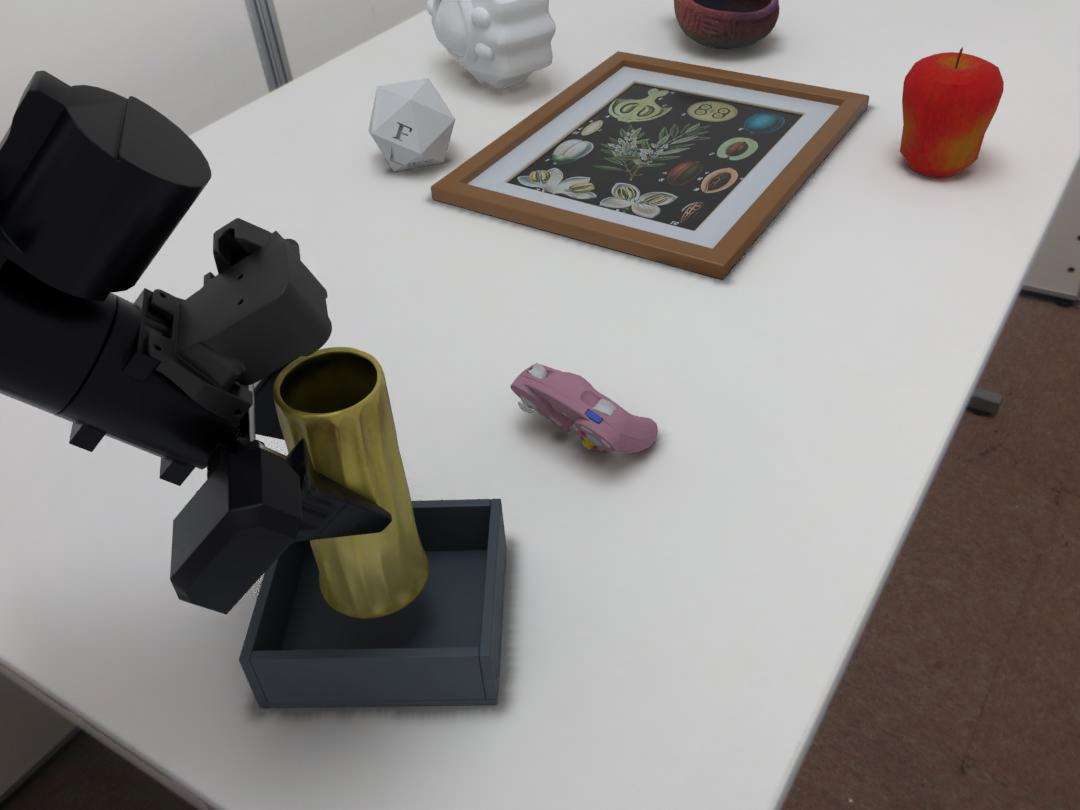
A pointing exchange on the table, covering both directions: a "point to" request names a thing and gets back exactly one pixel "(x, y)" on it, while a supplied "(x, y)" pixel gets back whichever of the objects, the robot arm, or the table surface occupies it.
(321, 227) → the table surface
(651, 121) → the picture frame
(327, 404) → the vase
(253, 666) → the bin
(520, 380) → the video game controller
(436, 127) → the die
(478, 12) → the white ridged sculpture
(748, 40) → the bowl
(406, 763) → the table surface
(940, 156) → the apple
